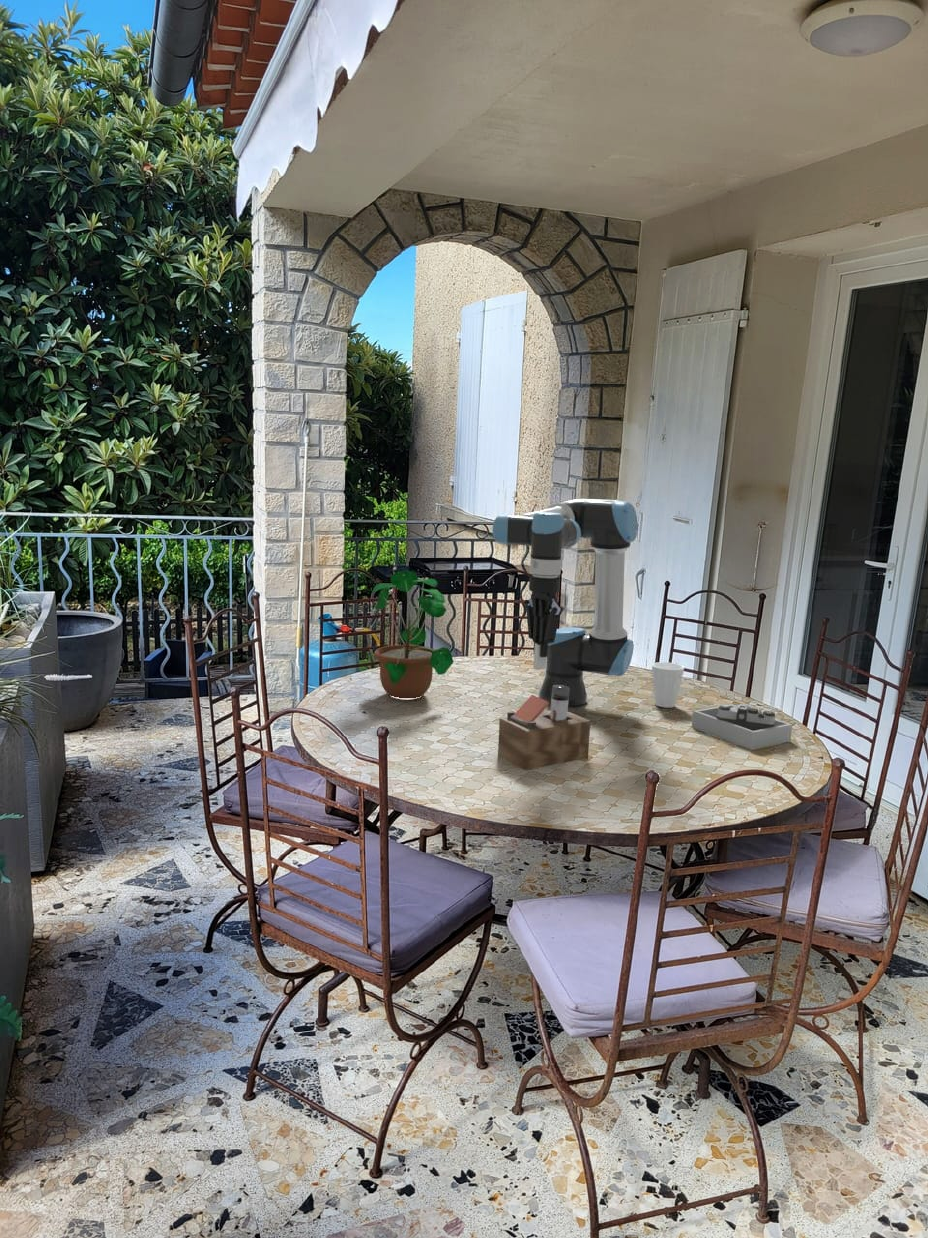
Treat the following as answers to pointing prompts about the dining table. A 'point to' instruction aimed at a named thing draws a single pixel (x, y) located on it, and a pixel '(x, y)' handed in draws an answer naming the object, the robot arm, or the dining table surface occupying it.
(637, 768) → the dining table surface
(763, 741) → the camera corral
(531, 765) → the block
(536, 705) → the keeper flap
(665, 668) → the cup
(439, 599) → the potted plant
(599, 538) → the robot arm
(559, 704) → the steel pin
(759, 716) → the camera
